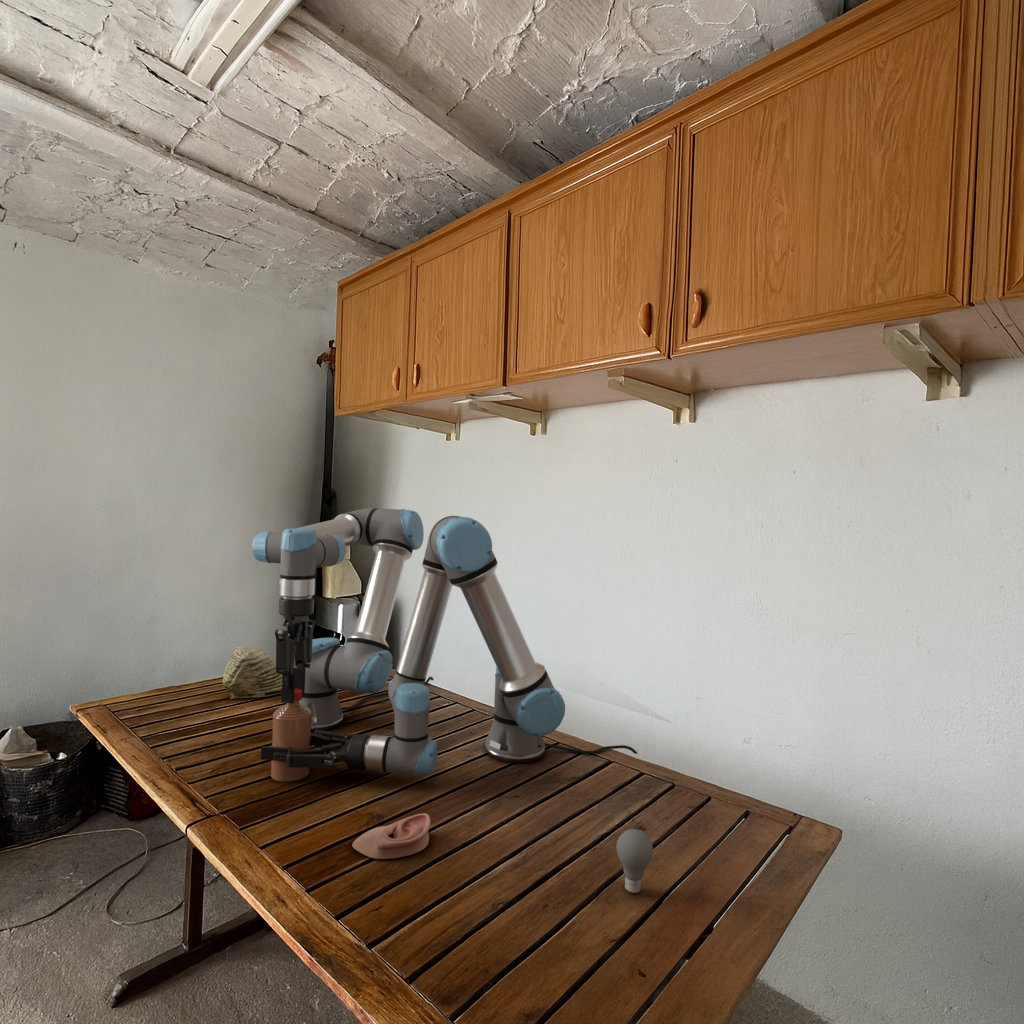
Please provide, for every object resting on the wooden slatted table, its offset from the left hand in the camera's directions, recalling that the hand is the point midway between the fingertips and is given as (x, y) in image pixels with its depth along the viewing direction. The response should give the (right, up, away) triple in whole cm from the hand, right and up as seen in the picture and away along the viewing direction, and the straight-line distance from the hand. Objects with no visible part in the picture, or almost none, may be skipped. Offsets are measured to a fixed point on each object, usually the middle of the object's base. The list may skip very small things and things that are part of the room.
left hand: (293, 699), depth 144 cm
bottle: (-1, -17, 0) cm, 17 cm away
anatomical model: (+28, -19, -27) cm, 43 cm away
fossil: (-31, -15, +54) cm, 64 cm away
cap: (0, +2, 0) cm, 2 cm away
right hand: (-5, -11, +1) cm, 12 cm away
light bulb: (+70, -21, -38) cm, 82 cm away
